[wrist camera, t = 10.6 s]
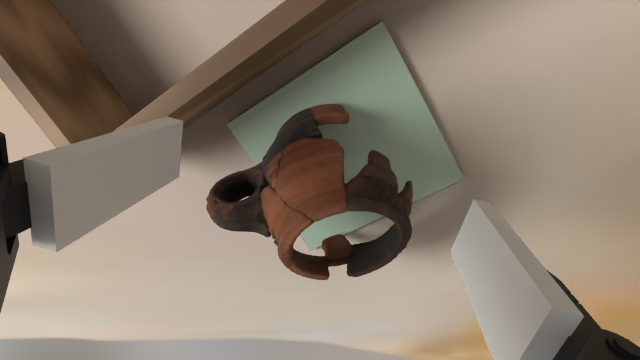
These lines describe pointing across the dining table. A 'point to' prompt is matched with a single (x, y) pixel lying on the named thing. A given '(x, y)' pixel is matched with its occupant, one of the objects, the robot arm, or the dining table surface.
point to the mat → (359, 123)
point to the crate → (98, 94)
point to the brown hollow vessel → (314, 197)
